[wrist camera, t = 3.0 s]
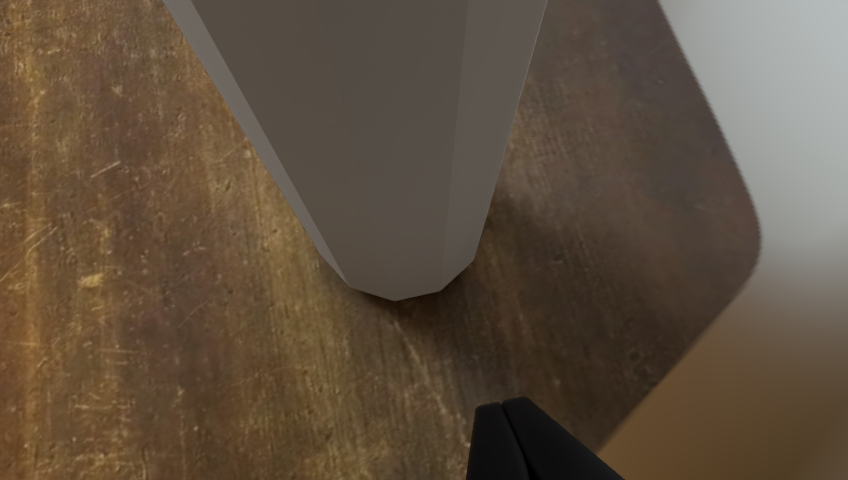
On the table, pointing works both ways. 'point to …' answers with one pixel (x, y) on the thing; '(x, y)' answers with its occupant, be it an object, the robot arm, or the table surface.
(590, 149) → the table surface
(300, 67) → the water bottle
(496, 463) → the robot arm
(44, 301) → the table surface
